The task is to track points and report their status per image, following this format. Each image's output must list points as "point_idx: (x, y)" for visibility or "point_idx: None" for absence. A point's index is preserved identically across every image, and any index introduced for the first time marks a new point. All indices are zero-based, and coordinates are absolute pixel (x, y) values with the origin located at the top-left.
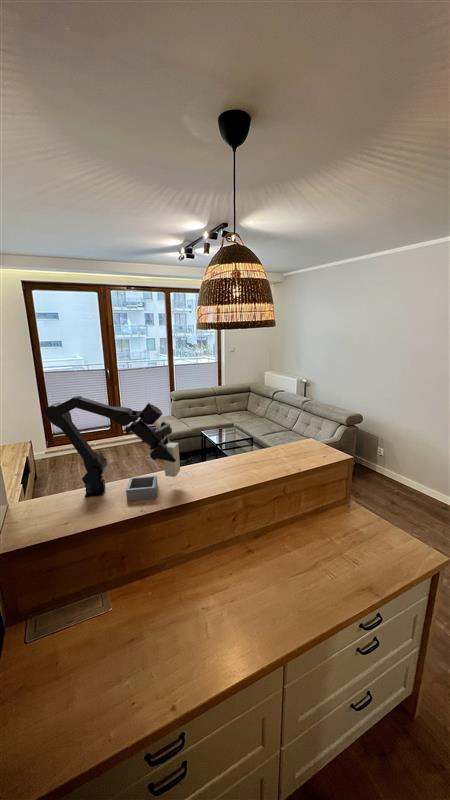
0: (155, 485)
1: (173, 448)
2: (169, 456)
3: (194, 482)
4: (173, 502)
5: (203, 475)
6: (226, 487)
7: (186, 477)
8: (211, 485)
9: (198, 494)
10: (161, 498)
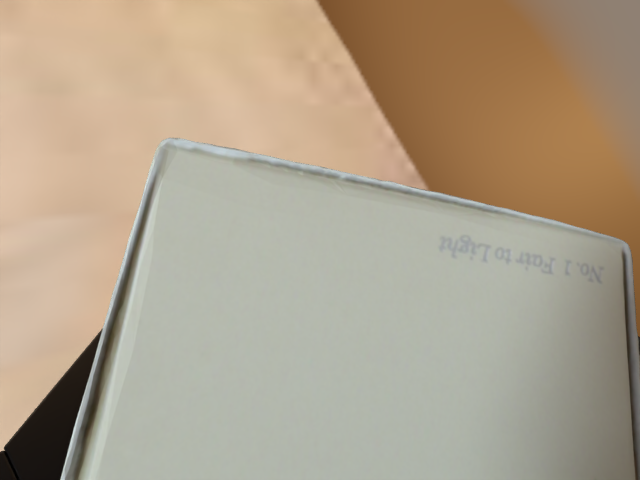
0: None
1: (601, 241)
2: None
3: None
4: None
5: (77, 128)
6: (279, 3)
7: (99, 258)
8: (250, 81)
9: (361, 157)
10: None
